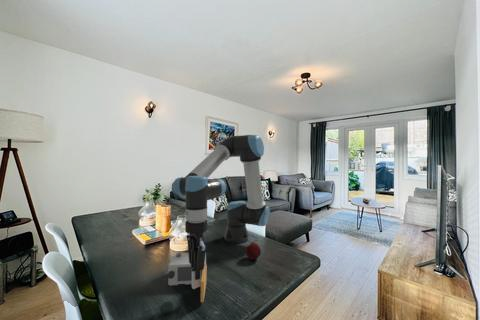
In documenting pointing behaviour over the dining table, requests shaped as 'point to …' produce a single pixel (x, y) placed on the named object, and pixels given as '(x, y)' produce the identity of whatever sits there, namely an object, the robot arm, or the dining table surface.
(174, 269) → the small grey cabinet
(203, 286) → the side door
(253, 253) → the apple
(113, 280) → the dining table surface
